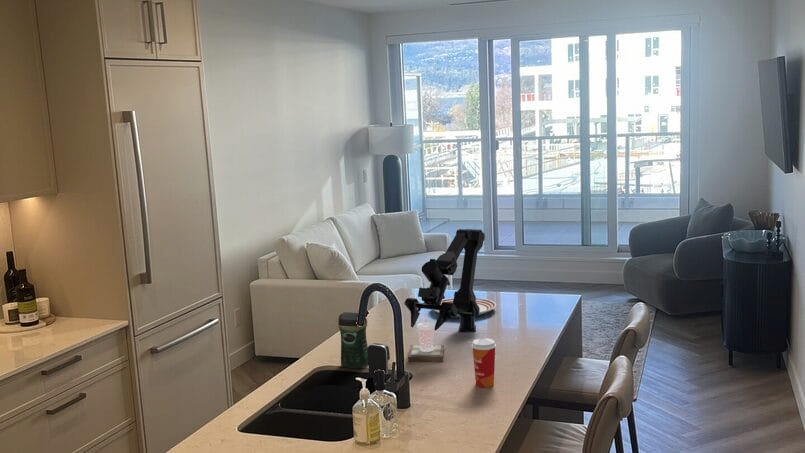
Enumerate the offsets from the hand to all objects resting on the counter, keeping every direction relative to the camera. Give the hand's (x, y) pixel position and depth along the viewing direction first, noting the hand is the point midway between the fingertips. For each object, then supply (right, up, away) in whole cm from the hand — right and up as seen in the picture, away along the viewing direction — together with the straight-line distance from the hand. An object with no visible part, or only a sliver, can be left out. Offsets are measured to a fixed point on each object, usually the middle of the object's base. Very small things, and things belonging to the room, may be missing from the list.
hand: (423, 328), depth 271 cm
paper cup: (+19, -14, -25) cm, 35 cm away
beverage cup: (+1, -8, +3) cm, 9 cm away
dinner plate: (+18, -1, +56) cm, 59 cm away
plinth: (+1, -10, +3) cm, 11 cm away
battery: (-15, -14, -15) cm, 25 cm away
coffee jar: (-23, -12, -2) cm, 27 cm away
